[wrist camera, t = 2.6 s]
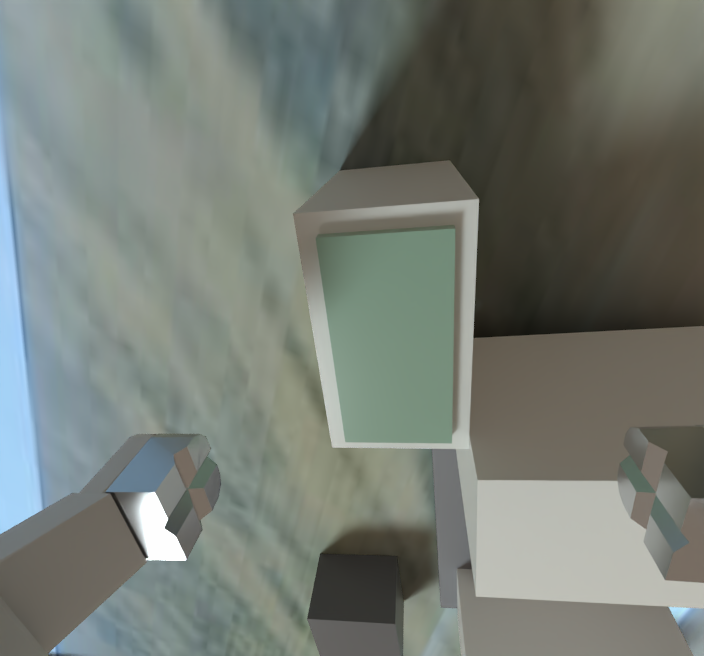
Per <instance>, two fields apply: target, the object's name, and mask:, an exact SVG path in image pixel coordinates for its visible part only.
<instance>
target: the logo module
mask: <svg viewBox="0 0 704 656" xmlns="http://www.w3.org/2000/svg"><path fill="white" fill-rule="evenodd" d="M478 213H479V198H478V197H477V196H476V194H475V193H474V192H473V190H472V189H471V188H470V186H469V185H468V184H467V182H466V181H465V180H464V178H463V177H462V176H461V174H460V173H459V172H458V170H457V169H456V168H455V166H454V165H453V164H452V162H451V161H450V160H447V161H437V162H426V163H415V164H405V165H394V166H383V167H373V168H362V169H351V170H341V171H339V172H338V173H336V174H335V175H334V176H333V177H332V178H331V179H330V180H329V181H328V182H327V183H326V184H325V185H324V186H322V187H321V188H320V189H319V190H318V191H317V192H316V193H315V194H314V195H313V196H312V197H311V198H309V199H308V200H307V201H306V202H305V203H304V204H303V205H302V206H301V207H300V208H299V209H298V210H297V211H295V212H294V213H293V216H294V222H295V228H296V234H297V240H298V246H299V252H300V258H301V264H302V270H303V276H304V282H305V288H306V294H307V300H308V306H309V312H310V318H311V323H312V329H313V335H314V341H315V347H316V353H317V359H318V365H319V371H320V377H321V383H322V389H323V395H324V401H325V407H326V413H327V419H328V425H329V431H330V437H331V443H332V447H344V448H417V449H469V429H470V405H471V381H472V357H473V333H474V309H475V285H476V261H477V237H478Z"/></svg>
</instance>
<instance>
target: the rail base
mask: <svg viewBox="0 0 704 656" xmlns="http://www.w3.org/2000/svg"><path fill="white" fill-rule="evenodd" d="M695 425H704V326H695V327H676V328H656V329H637V330H618V331H599V332H580V333H560V334H541V335H522V336H503V337H484V338H473V357H472V381H471V405H470V429H469V449H432V460H433V478H434V497H435V515H436V533H437V551H438V569H439V587H440V602H441V607H442V608H458V626H459V636H460V647H461V656H693V654H692V652H691V650H690V648H689V646H688V644H687V642H686V640H685V638H684V636H683V635H682V633H681V631H680V629H679V627H678V625H677V623H676V621H675V619H674V617H673V615H672V613H671V611H670V609H669V607H686V608H704V583H698V582H683V581H668V580H665V579H664V577H663V576H662V574H661V572H660V570H659V568H658V567H657V565H656V563H655V561H654V560H653V558H652V556H651V554H650V553H649V551H648V549H647V547H646V545H645V544H644V542H643V541H644V537H645V533H646V529H645V528H643V527H642V526H640V525H639V524H638V523H636V522H635V521H633V520H632V519H631V518H630V517H629V515H628V513H627V511H626V509H625V507H624V505H623V502H622V500H621V497H620V494H619V488H618V480H617V476H618V469H619V463H621V462H622V461H623V460H624V459H625V458H627V457H628V456H629V455H630V454H629V453H628V451H627V450H626V448H625V447H624V445H623V443H624V439H625V434H626V432H627V431H628V429H629V428H630V427H653V426H695Z"/></svg>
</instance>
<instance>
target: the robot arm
mask: <svg viewBox="0 0 704 656" xmlns="http://www.w3.org/2000/svg"><path fill="white" fill-rule="evenodd" d="M623 445H624V447H625V448H626V450H627V451H628V453H629V454H630V455H629V456H628V457H627V458H625V459H624V460H623V461H622V462H621V463H619V469H618V476H617V480H618V488H619V494H620V497H621V500H622V502H623V505H624V507H625V509H626V511H627V513H628V515H629V517H630V518H631V519H632V520H633V521H635V522H636V523H638V524H639V525H640V526H642V527H643V528H645V529H646V533H645V537H644V541H643V542H644V544H645V545H646V547H647V549H648V551H649V553H650V554H651V556H652V558H653V560H654V561H655V563H656V565H657V567H658V568H659V570H660V572H661V574H662V576H663V577H664V579H665V580H668V581H683V582H698V583H704V425H695V426H653V427H630V428H629V429H628V431H627V432H626V434H625V439H624V443H623ZM210 450H211V447H210V445H209V442H208V440H207V438H206V436H203V435H201V434H136V435H134V436H132V437H130V438H129V439H128V440H127V441H126V442H125V443H124V444H123V445H122V446H121V447H120V449H119V450H118V451H117V452H116V453H115V454H114V455H113V456H112V457H111V458H110V460H109V461H108V462H107V463H106V464H105V465H104V466H103V467H102V468H101V469H100V471H99V472H98V473H97V474H96V475H95V476H94V477H93V478H92V479H91V480H90V482H89V483H88V484H87V485H86V486H85V487H84V488H83V489H82V490H81V491H80V493H71V494H70V495H68V496H66V497H64V498H63V499H61V500H59V501H57V502H56V503H54V504H52V505H50V506H49V507H47V508H45V509H44V510H42V511H40V512H38V513H37V514H35V515H33V516H31V517H30V518H28V519H26V520H24V521H23V522H21V523H19V524H18V525H16V526H14V527H12V528H11V529H9V530H7V531H5V532H4V533H2V534H0V656H49V655H48V653H49V652H50V651H51V650H52V649H53V648H54V647H55V646H56V645H58V644H59V643H60V642H61V641H62V640H63V639H64V638H65V637H66V636H67V635H68V634H70V633H71V632H72V631H73V630H74V629H75V628H76V627H77V626H78V625H79V624H80V623H81V622H83V621H84V620H85V619H86V618H87V617H88V616H89V615H90V614H91V613H92V612H93V611H94V610H96V609H97V608H98V607H99V606H100V605H101V604H102V603H103V602H104V601H105V600H106V599H107V598H109V597H110V596H111V595H112V594H113V593H114V592H115V591H116V590H117V589H118V588H119V587H120V586H122V585H123V584H124V583H125V582H126V581H127V580H128V579H129V578H130V577H131V576H132V575H133V574H135V573H136V572H137V571H138V570H139V569H140V568H141V567H142V566H143V565H144V564H145V563H146V562H147V561H146V560H187V558H188V556H189V555H190V553H191V551H192V549H193V547H194V545H195V543H196V541H197V539H198V537H199V535H200V533H201V531H202V530H203V529H202V525H201V519H202V518H203V517H205V516H206V515H207V514H208V513H210V512H211V511H212V510H213V508H214V506H215V504H216V502H217V500H218V497H219V491H220V486H221V479H220V472H219V469H218V466H217V464H216V463H215V462H213V461H212V460H211V459H210V458H209V457H207V456H208V454H209V452H210Z"/></svg>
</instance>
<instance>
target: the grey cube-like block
mask: <svg viewBox="0 0 704 656" xmlns="http://www.w3.org/2000/svg"><path fill="white" fill-rule="evenodd" d="M403 617H404V600H403V594H402V587H401V580H400V573H399V566H398V560H397V556H376V555H342V554H320V557H319V562H318V567H317V572H316V577H315V582H314V588H313V593H312V598H311V603H310V608H309V613H308V618H307V620H308V622H309V625H310V628H311V631H312V634H313V637H314V640H315V642H316V645H317V648H318V651H319V654H320V656H403Z"/></svg>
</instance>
